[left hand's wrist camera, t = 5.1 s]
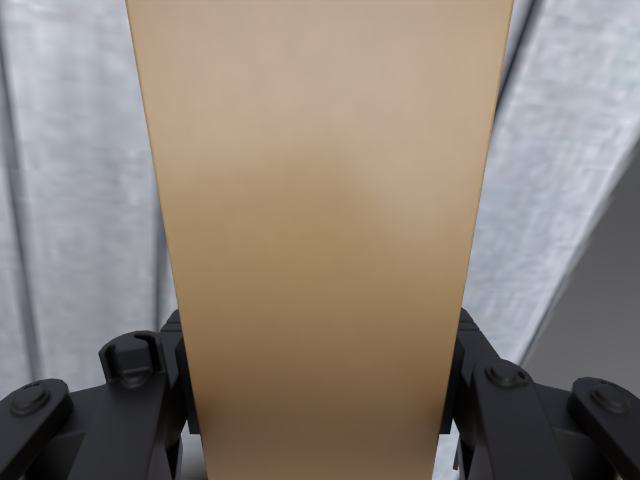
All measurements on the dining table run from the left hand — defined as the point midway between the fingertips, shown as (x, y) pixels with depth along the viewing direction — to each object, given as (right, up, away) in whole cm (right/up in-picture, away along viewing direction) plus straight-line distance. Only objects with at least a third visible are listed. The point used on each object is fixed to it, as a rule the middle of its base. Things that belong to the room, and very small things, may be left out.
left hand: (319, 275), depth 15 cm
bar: (0, +10, -3) cm, 11 cm away
